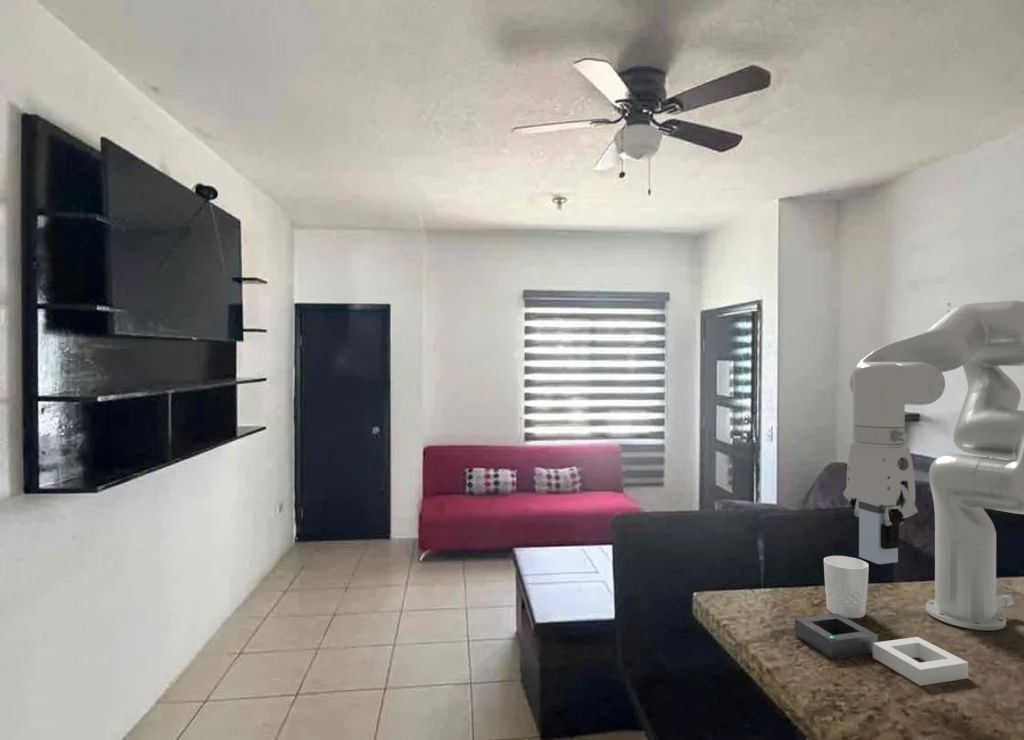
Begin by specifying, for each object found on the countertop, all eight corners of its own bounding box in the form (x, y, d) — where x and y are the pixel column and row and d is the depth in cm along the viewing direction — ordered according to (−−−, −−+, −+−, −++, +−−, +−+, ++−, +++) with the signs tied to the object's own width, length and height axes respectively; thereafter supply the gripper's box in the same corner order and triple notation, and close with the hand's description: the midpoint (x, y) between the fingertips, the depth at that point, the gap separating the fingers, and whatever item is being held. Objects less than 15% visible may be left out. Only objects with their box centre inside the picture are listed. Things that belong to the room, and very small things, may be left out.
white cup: (866, 607, 124) (866, 558, 124) (870, 622, 117) (870, 571, 117) (822, 601, 127) (822, 553, 127) (824, 616, 120) (824, 565, 120)
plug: (877, 554, 106) (878, 497, 106) (898, 562, 102) (898, 502, 102) (858, 556, 105) (858, 498, 105) (878, 564, 101) (878, 504, 101)
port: (837, 629, 114) (837, 612, 114) (877, 652, 105) (877, 633, 105) (795, 634, 112) (795, 617, 112) (831, 658, 103) (831, 640, 103)
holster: (917, 651, 105) (917, 636, 105) (968, 678, 96) (968, 662, 96) (872, 657, 103) (872, 642, 103) (920, 685, 94) (920, 669, 94)
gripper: (942, 441, 96) (941, 557, 96) (856, 430, 112) (856, 529, 112) (904, 443, 94) (903, 561, 94) (822, 431, 110) (822, 532, 110)
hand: (877, 542), depth 103 cm, fingers closed on plug, 4 cm apart
